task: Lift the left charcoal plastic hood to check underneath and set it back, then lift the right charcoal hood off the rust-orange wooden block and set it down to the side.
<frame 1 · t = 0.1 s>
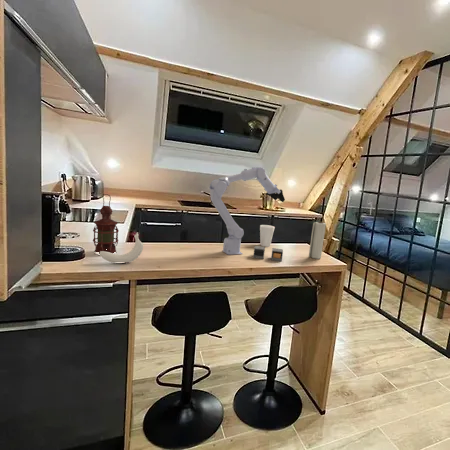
hand: (280, 200, 182), 32 cm above the counter, tool tilted 50°, fingers open, 7 cm apart
lantern: (105, 253, 155), on the counter
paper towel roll: (314, 257, 182), on the counter
orange block: (276, 256, 170), in the right hood
right hood: (276, 259, 171), on the counter
banana: (121, 263, 141), on the counter
foam cup: (265, 245, 201), on the counter
left hood: (258, 257, 172), on the counter
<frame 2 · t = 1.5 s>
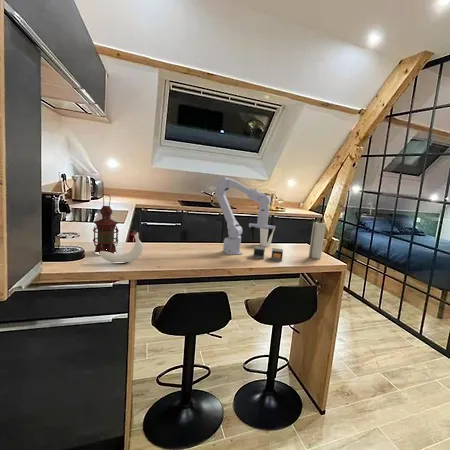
hand: (260, 241, 170), 9 cm above the counter, tool pointing down, fingers open, 7 cm apart
nothing on the counter moved.
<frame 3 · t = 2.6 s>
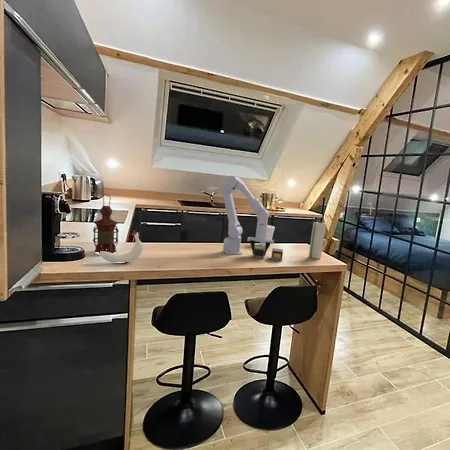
hand: (258, 254, 172), 1 cm above the counter, tool pointing down, fingers closed on left hood, 6 cm apart
left hood: (258, 257, 172), on the counter, touching gripper
everything else where it was.
when the fingers open (2 cm above the counter, at t = 7.0 s): left hood stays where it is, on the counter.
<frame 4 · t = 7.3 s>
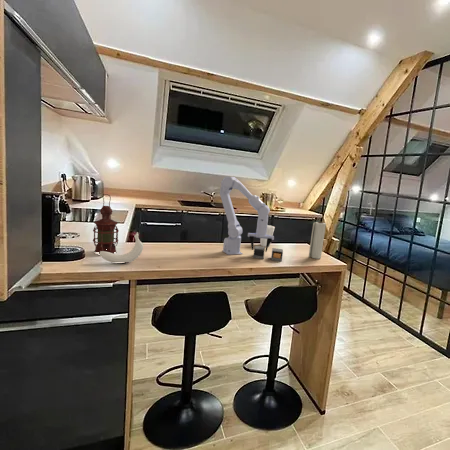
hand: (259, 250, 171), 4 cm above the counter, tool pointing down, fingers open, 7 cm apart
left hood: (258, 257, 172), on the counter
everything else where it was.
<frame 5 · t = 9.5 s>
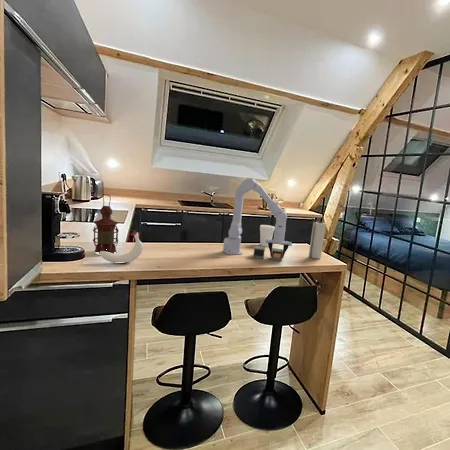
hand: (276, 256, 170), 1 cm above the counter, tool pointing down, fingers closed on right hood, 6 cm apart
right hood: (276, 259, 171), on the counter, touching gripper
everything else where it was.
when the fingers open (2 cm above the counter, at t = 14.2 s): right hood stays where it is, on the counter.
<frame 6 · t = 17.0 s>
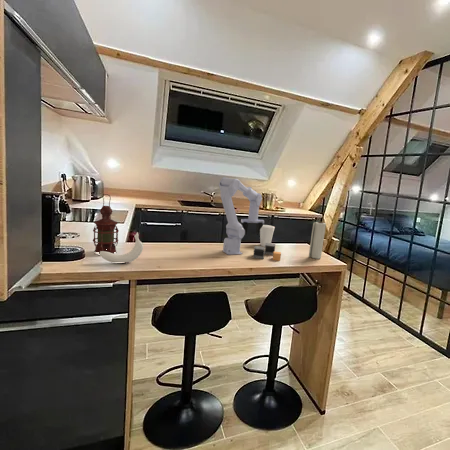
hand: (251, 234, 186), 9 cm above the counter, tool pointing down, fingers open, 7 cm apart
right hood: (269, 253, 182), on the counter
everything else where it was.
at the end: right hood moved 11.7 cm from its start; orange block moved 0.1 cm from its start; left hood moved 0.0 cm from its start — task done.
